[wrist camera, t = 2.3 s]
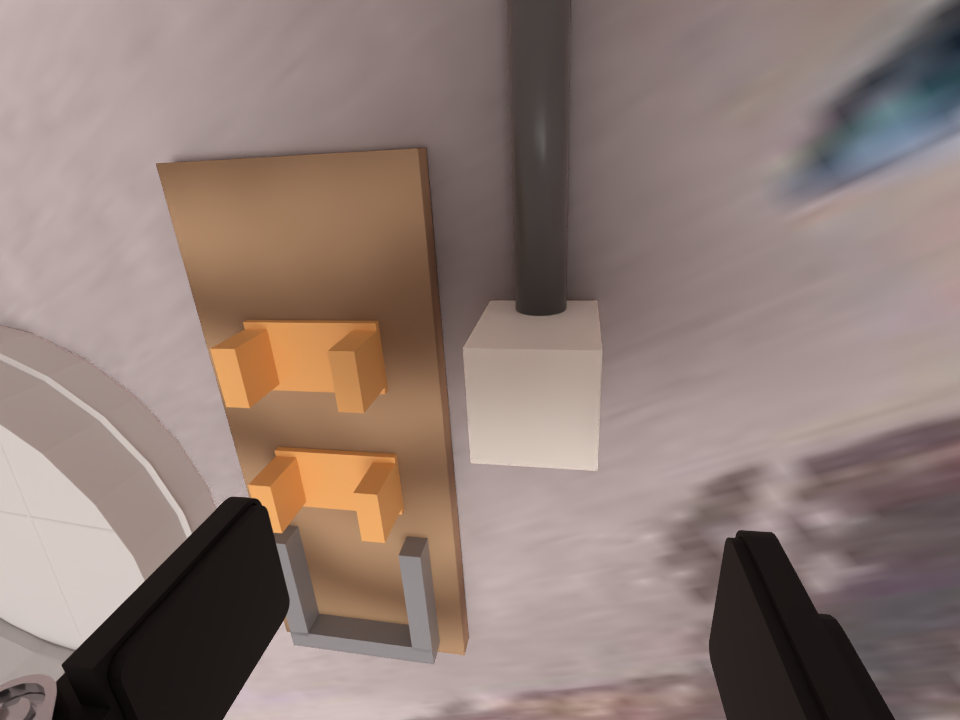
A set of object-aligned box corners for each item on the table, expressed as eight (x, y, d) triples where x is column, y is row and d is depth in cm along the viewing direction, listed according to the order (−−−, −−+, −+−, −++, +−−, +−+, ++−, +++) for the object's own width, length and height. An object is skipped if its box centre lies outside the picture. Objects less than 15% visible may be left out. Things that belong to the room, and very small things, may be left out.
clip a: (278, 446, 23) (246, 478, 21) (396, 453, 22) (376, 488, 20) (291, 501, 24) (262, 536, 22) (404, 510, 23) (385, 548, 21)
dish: (188, 339, 23) (92, 387, 18) (259, 666, 32) (206, 753, 27) (-193, 300, 26) (-353, 333, 22) (-33, 605, 35) (-123, 674, 31)
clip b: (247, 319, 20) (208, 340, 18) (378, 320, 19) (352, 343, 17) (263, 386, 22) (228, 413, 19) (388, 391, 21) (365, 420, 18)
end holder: (279, 524, 25) (265, 542, 24) (427, 538, 23) (420, 557, 22) (305, 624, 27) (294, 645, 26) (439, 642, 26) (433, 664, 25)
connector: (470, -137, 14) (419, -265, 10) (614, -161, 14) (631, -311, 9) (494, 393, 21) (470, 463, 16) (593, 397, 20) (597, 470, 16)
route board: (175, 162, 19) (156, 163, 19) (426, 148, 18) (417, 148, 17) (296, 616, 29) (287, 631, 28) (468, 638, 27) (464, 655, 26)
